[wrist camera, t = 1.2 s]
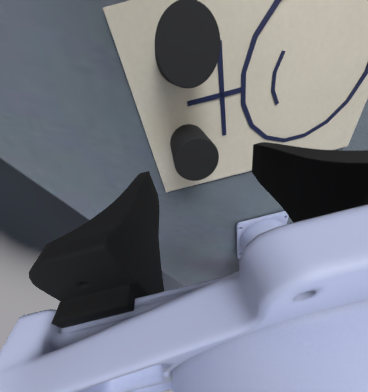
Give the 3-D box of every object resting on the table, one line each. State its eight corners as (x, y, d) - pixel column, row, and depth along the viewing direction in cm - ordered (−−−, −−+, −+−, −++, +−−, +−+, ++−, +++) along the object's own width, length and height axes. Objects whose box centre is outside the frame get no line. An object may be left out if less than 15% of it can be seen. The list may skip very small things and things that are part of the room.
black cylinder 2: (207, 155, 17) (220, 175, 14) (174, 163, 17) (179, 185, 14) (203, 119, 15) (217, 132, 12) (165, 129, 15) (168, 144, 12)
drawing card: (345, 145, 19) (348, 146, 19) (165, 191, 20) (166, 192, 19) (437, -82, 10) (446, -87, 10) (103, 9, 11) (102, 7, 10)
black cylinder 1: (205, 79, 13) (223, 80, 10) (162, 90, 13) (165, 95, 10) (198, 16, 11) (218, -12, 8) (148, 30, 11) (144, 8, 8)
